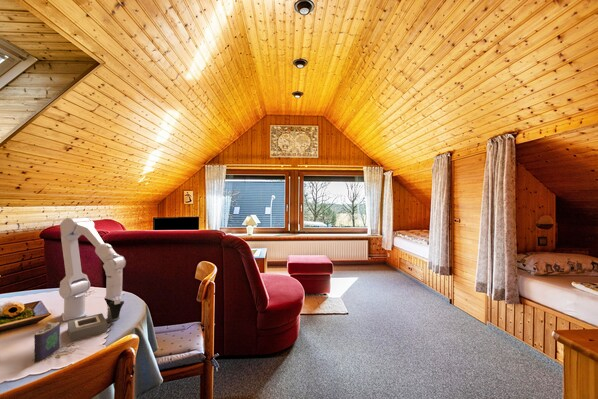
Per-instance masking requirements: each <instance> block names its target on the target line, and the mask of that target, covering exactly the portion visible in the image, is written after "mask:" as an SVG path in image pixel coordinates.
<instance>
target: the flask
mask: <svg viewBox="0 0 598 399" xmlns="http://www.w3.org/2000/svg"><path fill="white" fill-rule="evenodd" d="M45 324H46V325H45V327H44V328H43V329H42V330H38V331H36V332H35V333H34V349H33V350H34V358H33V360H34V361H33V362H34V363H40V362H43V361H44V360H46V359H47V358H49V357H50V356H51V355H52V356H53V354H54V353H55V352H56V351H58V350H59V349H60V345H61V343H60V342H61V341H60V338H61V335H60V334H61V322H59V321H58V322H46V323H45Z"/></svg>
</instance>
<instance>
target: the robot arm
mask: <svg viewBox="0 0 598 399" xmlns="http://www.w3.org/2000/svg"><path fill="white" fill-rule="evenodd" d="M59 226H60V227H59V228H60V239H61V247H62V248H61V249H62V253H63V254H62V257H63V261H64V262H63V263H64V269H65V270H64V271H65V272H64V273H65V276H64V277H63V279H62V280H60V282H59V288H58V289H59V290H58V292H59V293H58V294H59V296H60V297H61V299H63V312H62V313H61V316H62V321H63V322H66V321H67V322H68V321H70V320H75V319H79V318H83V317H88V313H87V311H86V294H88V291H89V290H90V289H91V282H90V280H89V277H88V275H87V274H86V273H83V272H82V265H81V264H82V263H81V257H80V247H79V240H78V239H79V238H80V237H81V236H84V237H85V238H87V240H88V241H89V242H90V243H91V244H92V245H93V246H94V247H95V250H94V253H95V254H96V255H97V257H99V259H100V260H101V261H102V263H103V264H102V267H103V269H104V272H105V276H106V282H105V283H106V285H105V286H106V287H105V288H106V289H105V296H104V299H103V300H104V301H105V303H106V306H107V307H108V306H109V308H110V311H111V317H112V319H116V318H118V317H119V313H120V312H121V310H122V307H123V306H124V304H125V301H124V300H121V298H122V297H123V296H124V295H126V292H125V291H123V269H124V268H125V267H126V264H127V260H126V259H125V257H124V256H123V255H120V254H119V253H117V252H116V251H115V250H114V248H113V246H112V245H111V244H109V243H105V242H104V241H103V239H102V237H101V236H100V234H99V233H98V230H96V228H95V222H94V221H93V219H92V218H91V217H89V216H84V217H66V218H64V219H63V220H62V221H61V222H60V224H59ZM111 302H112V303H111Z"/></svg>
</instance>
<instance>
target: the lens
mask: <svg viewBox="0 0 598 399" xmlns="http://www.w3.org/2000/svg"><path fill="white" fill-rule="evenodd" d="M111 303H112V302H111ZM106 308H107V318H106V322H108V323H109V322H112V323H113V322H117V321H119V320H120V316H121V315H120V313H119V317H118V318H116V319H112V317H111V311H110V308H109V306H107V307H106Z"/></svg>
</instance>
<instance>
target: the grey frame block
mask: <svg viewBox="0 0 598 399" xmlns="http://www.w3.org/2000/svg"><path fill="white" fill-rule="evenodd" d="M107 322H108V321H107V319H106V317H104V314H103V313H101V312H100V313H97V314H93V315H89V316H88V315H87V316H84V317H80V318H75V319H71V320H67V332H68V338H69V342H70V343H71V342H74V341H78V340H82V339H85V338H89V337H93V336H96V335H100V334H105V333H107V332H108V331H107V330H108V323H107Z"/></svg>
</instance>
